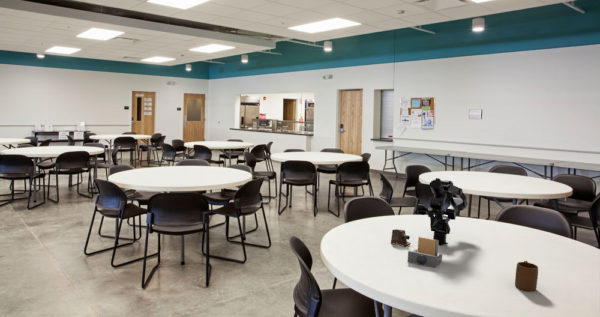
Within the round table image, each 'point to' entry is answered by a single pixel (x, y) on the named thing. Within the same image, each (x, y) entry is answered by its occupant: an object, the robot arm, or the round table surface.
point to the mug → (526, 276)
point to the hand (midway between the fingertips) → (431, 225)
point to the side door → (428, 246)
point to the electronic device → (400, 237)
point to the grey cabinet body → (424, 259)
